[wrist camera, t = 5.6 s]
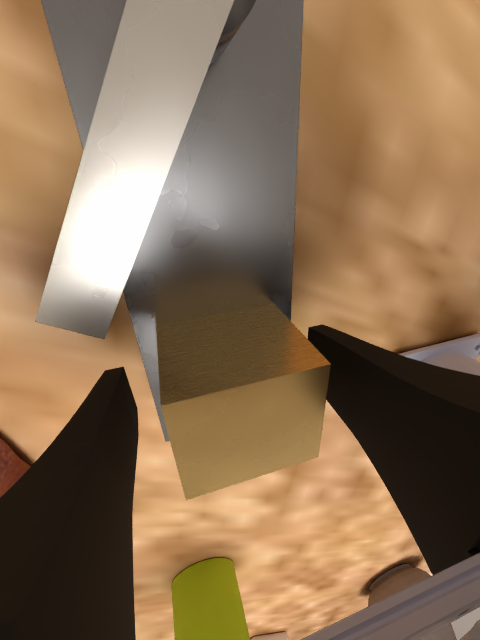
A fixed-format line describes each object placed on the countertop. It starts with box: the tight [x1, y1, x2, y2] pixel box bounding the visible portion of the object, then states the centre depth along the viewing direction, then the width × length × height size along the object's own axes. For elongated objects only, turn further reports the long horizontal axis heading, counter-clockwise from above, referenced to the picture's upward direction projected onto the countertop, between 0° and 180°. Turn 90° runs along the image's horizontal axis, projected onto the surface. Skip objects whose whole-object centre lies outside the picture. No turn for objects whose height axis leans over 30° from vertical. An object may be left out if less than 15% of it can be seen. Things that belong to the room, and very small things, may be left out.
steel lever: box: [35, 0, 256, 339], centre depth 6 cm, size 9×2×2 cm, turn 152°
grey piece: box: [41, 0, 303, 441], centre depth 9 cm, size 18×6×5 cm, turn 3°
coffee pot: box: [368, 564, 457, 640], centre depth 38 cm, size 21×12×15 cm, turn 129°
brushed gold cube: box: [156, 304, 331, 500], centre depth 10 cm, size 4×4×4 cm
